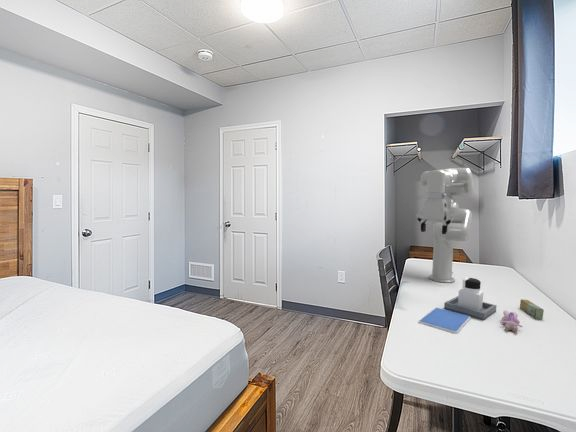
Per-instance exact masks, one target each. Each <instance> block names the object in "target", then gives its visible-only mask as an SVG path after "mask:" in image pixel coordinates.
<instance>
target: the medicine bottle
mask: <svg viewBox="0 0 576 432" xmlns="http://www.w3.org/2000/svg"><path fill="white" fill-rule="evenodd" d="M481 284H482V283H481V281H480V280H479V279H478V278H473V277H464V278H463V279H462V288H461V289H459V291H458V295H457V296H458V306H462V307H465V308H469V309H473V310H476V311H480V310H481V309H482V304H483V302H484V301H483V300H484V291H483V290H481Z"/></svg>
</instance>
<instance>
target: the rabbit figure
mask: <svg viewBox="0 0 576 432" xmlns="http://www.w3.org/2000/svg"><path fill="white" fill-rule="evenodd" d="M502 315H504V316H502V318H501V320H500V322H499V323H500V324H502V323H503V324H505V325H504V329H505V332H510V331H512V332H513V331H514V334H516V335H517V334H518V331H519V327H520V328H523V325H522V324H520V323H521V322H520V320H519V319H518V316H519V315H518V313H517V312H516V311H511V312H510V311H509V310H503V313H502ZM508 330H509V331H508Z"/></svg>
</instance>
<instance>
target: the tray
mask: <svg viewBox="0 0 576 432" xmlns="http://www.w3.org/2000/svg"><path fill="white" fill-rule="evenodd" d="M497 306H498V305H497V304H492V303H489V302H485V301H483V304H482V309H481V310H480V311H476V310H473V309H469V308H465V307H462V306H458V295H457V296H456V297H453V298H451V299H449V300H447V301H444V306H443V309H444V310H448V311H452V312H456V313H460V314H464V315H468V316H470V317H471V318H475V319H478V320H482V321H485V320H486V319H488V318H489V317H491V316H492V315H494V314H495V313H497Z"/></svg>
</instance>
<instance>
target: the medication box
mask: <svg viewBox="0 0 576 432" xmlns="http://www.w3.org/2000/svg"><path fill="white" fill-rule="evenodd" d="M519 308H520V309H521V310H522V311H523V312H525V313H526V314H527V315H529V316H531V317H532V318H533V319H535V320H544V311H545V310H544V309H543V308H541V307H540V306H539V305H536V304H535V303H533V302H532V301H530V300H528V299H524V298H522V299H520V303H519Z"/></svg>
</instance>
